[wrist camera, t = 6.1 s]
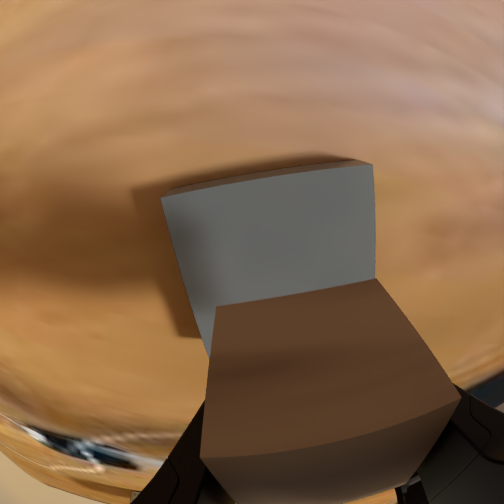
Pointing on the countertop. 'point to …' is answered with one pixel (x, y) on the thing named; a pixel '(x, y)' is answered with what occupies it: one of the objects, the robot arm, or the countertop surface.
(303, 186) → the slate pad
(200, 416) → the robot arm
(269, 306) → the walnut cube
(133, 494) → the skincare box
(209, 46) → the countertop surface
